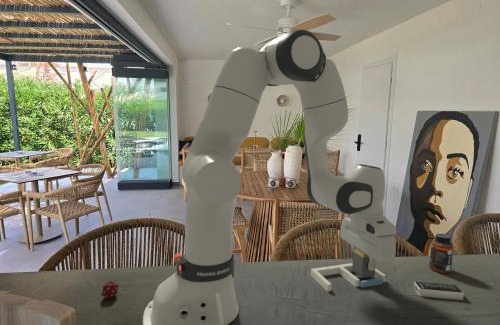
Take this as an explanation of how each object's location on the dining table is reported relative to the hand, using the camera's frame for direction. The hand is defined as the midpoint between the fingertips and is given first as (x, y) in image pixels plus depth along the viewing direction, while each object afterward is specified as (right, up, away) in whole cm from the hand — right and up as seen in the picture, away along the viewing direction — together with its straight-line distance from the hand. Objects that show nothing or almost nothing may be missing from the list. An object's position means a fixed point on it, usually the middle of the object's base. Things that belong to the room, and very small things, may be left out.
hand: (363, 264), depth 89 cm
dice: (-70, -5, -10) cm, 71 cm away
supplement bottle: (+27, -4, +7) cm, 28 cm away
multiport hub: (+18, -6, -7) cm, 20 cm away
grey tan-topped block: (0, -3, 0) cm, 3 cm away
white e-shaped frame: (-5, -4, 0) cm, 6 cm away
